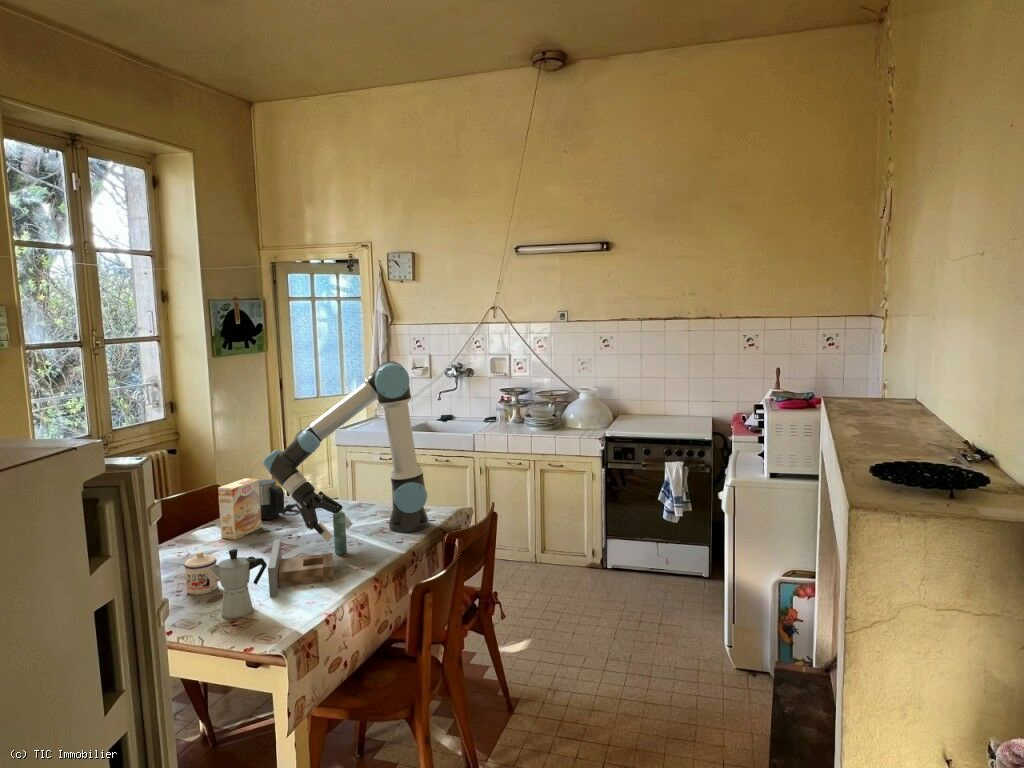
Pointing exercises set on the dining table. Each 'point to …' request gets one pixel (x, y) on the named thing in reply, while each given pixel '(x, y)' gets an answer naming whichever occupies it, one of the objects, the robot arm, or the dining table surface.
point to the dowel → (339, 533)
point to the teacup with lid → (200, 574)
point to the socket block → (306, 569)
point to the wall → (274, 568)
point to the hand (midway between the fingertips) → (340, 532)
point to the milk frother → (272, 499)
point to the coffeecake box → (239, 508)
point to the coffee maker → (237, 583)
